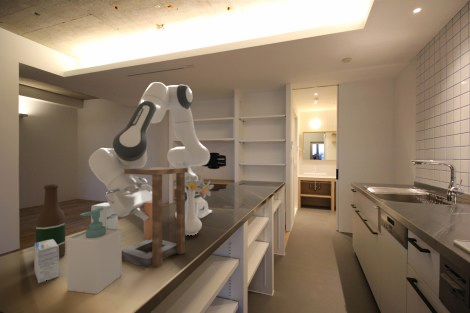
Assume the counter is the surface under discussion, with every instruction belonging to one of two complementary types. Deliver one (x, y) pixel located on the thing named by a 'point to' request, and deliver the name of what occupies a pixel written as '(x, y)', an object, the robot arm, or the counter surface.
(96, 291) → the soap bottle
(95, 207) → the supplement box
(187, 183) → the flower vase
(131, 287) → the counter surface
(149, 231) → the peg
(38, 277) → the medicine box
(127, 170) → the brown wooden tall frame
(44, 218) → the beer bottle
